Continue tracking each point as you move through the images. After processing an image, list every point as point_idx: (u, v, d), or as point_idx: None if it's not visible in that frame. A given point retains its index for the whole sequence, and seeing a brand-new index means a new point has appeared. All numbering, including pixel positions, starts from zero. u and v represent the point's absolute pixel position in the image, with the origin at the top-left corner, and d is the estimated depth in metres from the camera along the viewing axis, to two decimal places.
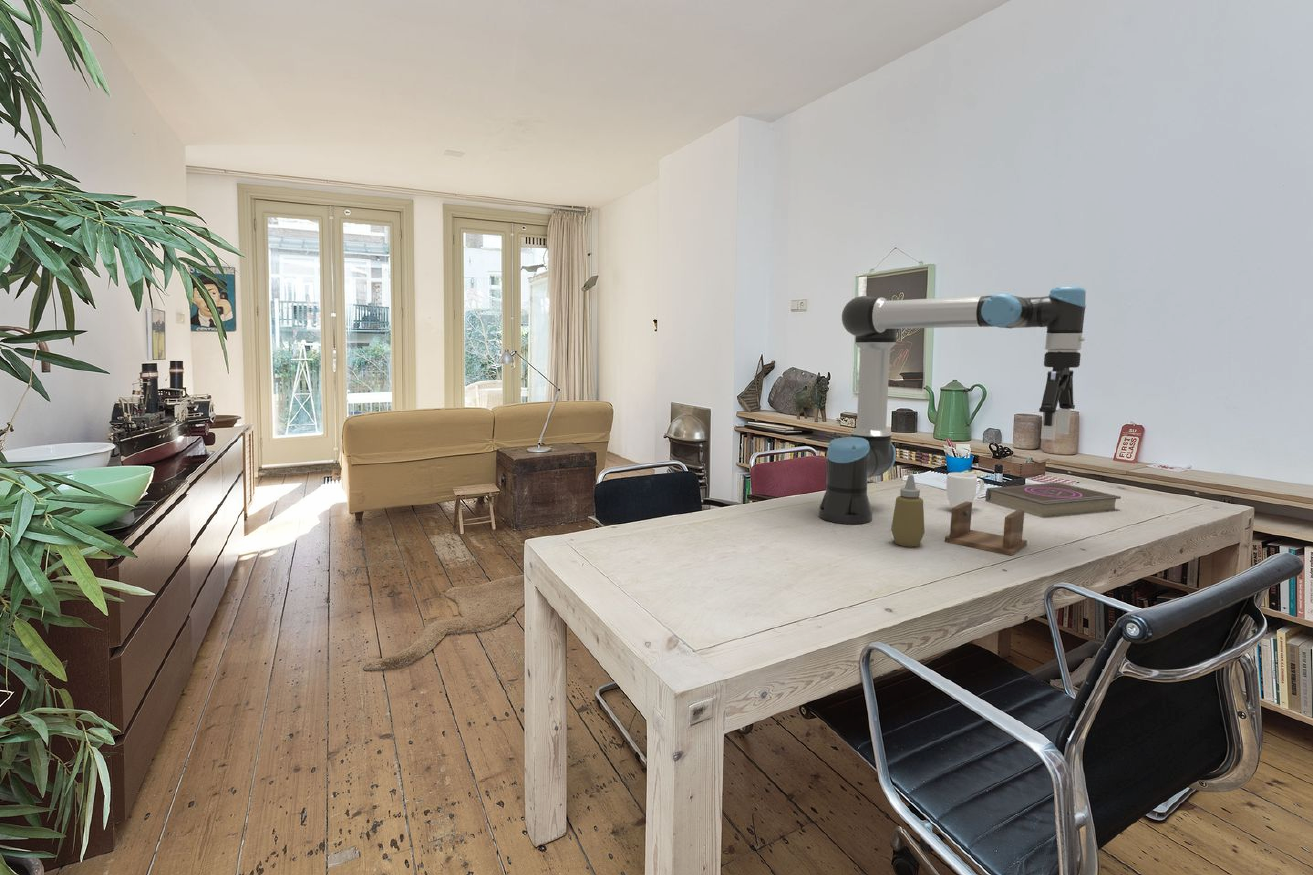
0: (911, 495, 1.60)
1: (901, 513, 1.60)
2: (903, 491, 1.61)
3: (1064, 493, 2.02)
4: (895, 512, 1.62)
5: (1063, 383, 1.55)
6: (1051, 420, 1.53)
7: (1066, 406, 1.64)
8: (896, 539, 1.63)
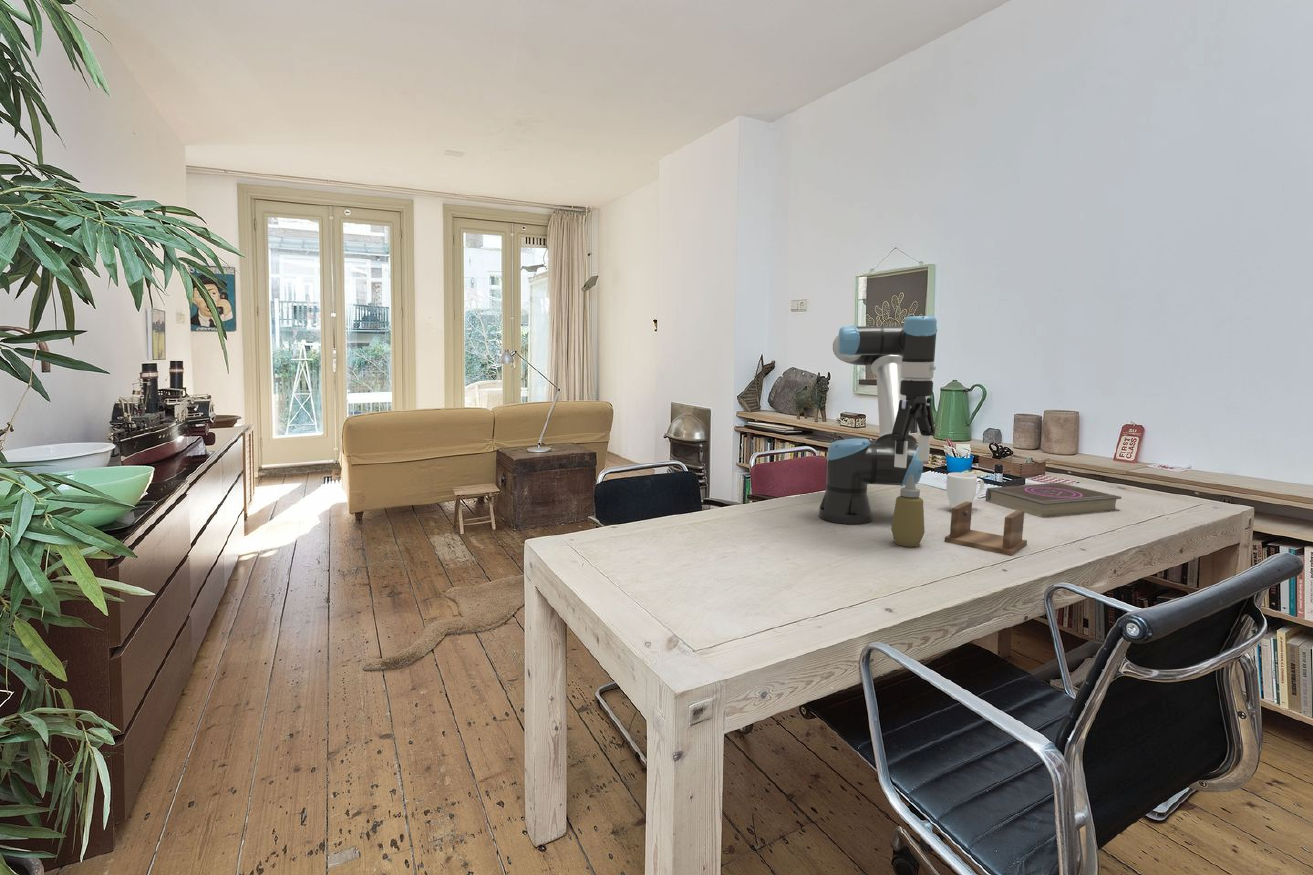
0: (911, 495, 1.60)
1: (901, 513, 1.60)
2: (903, 491, 1.61)
3: (1064, 493, 2.01)
4: (895, 512, 1.62)
5: (915, 411, 1.56)
6: (902, 448, 1.54)
7: (926, 433, 1.64)
8: (896, 539, 1.63)
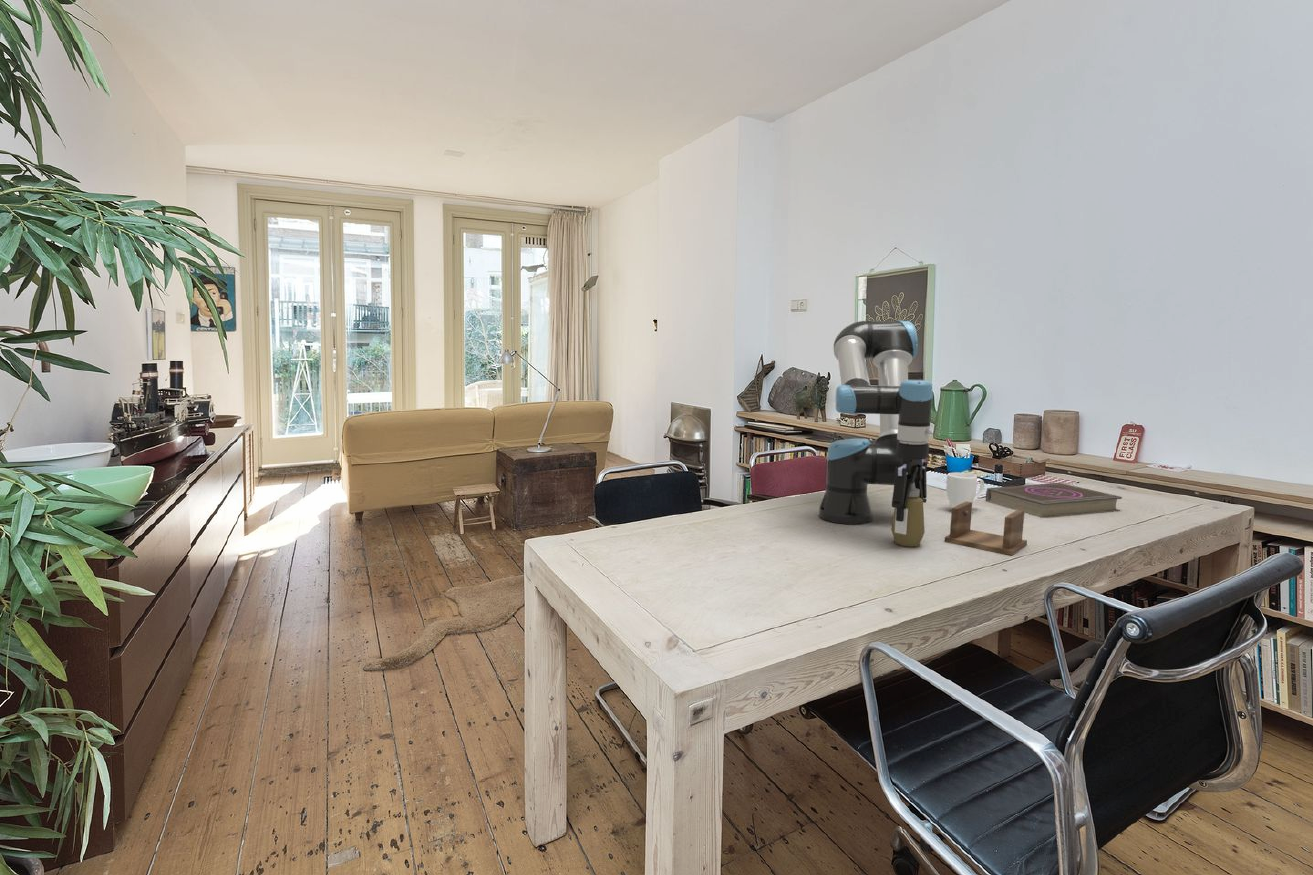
0: (911, 495, 1.60)
1: None
2: None
3: (1064, 493, 2.01)
4: (895, 512, 1.62)
5: (912, 476, 1.58)
6: (902, 516, 1.58)
7: None
8: (896, 539, 1.63)
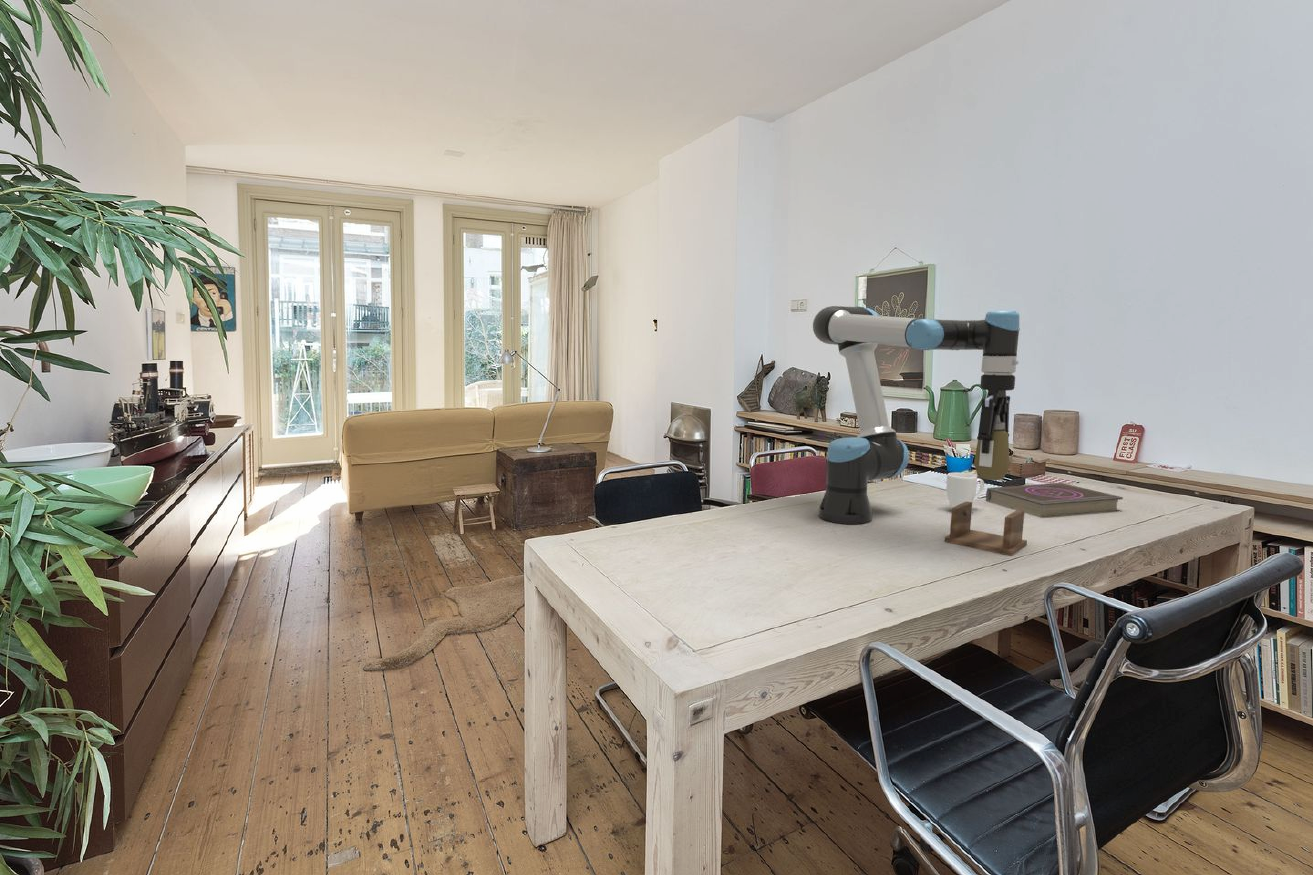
0: (996, 427, 1.58)
1: None
2: None
3: (1065, 493, 2.01)
4: (979, 446, 1.61)
5: (998, 408, 1.56)
6: (988, 448, 1.57)
7: None
8: (980, 473, 1.61)
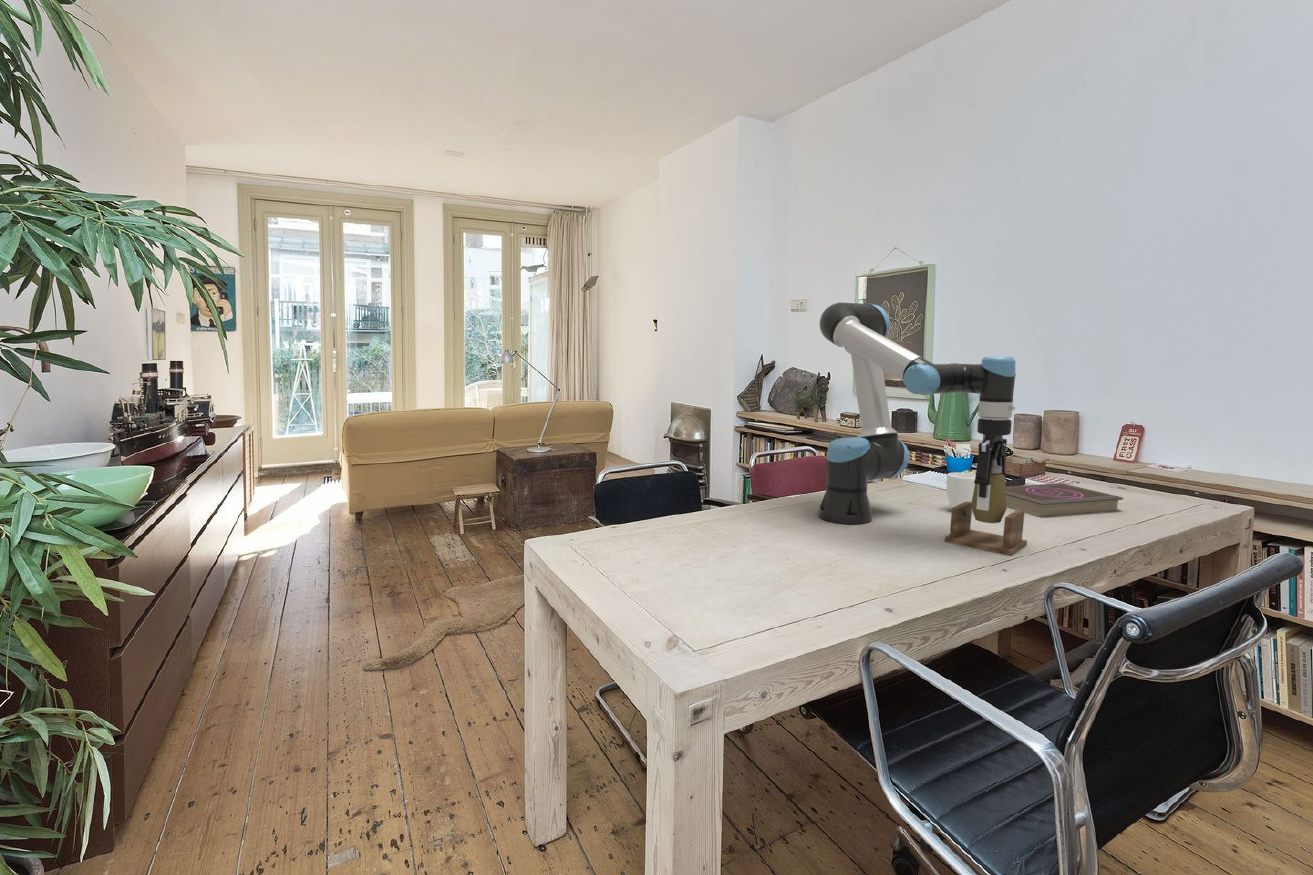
0: (993, 471, 1.59)
1: None
2: None
3: (1065, 493, 2.01)
4: (976, 489, 1.62)
5: (995, 452, 1.58)
6: (985, 492, 1.58)
7: None
8: (977, 516, 1.62)
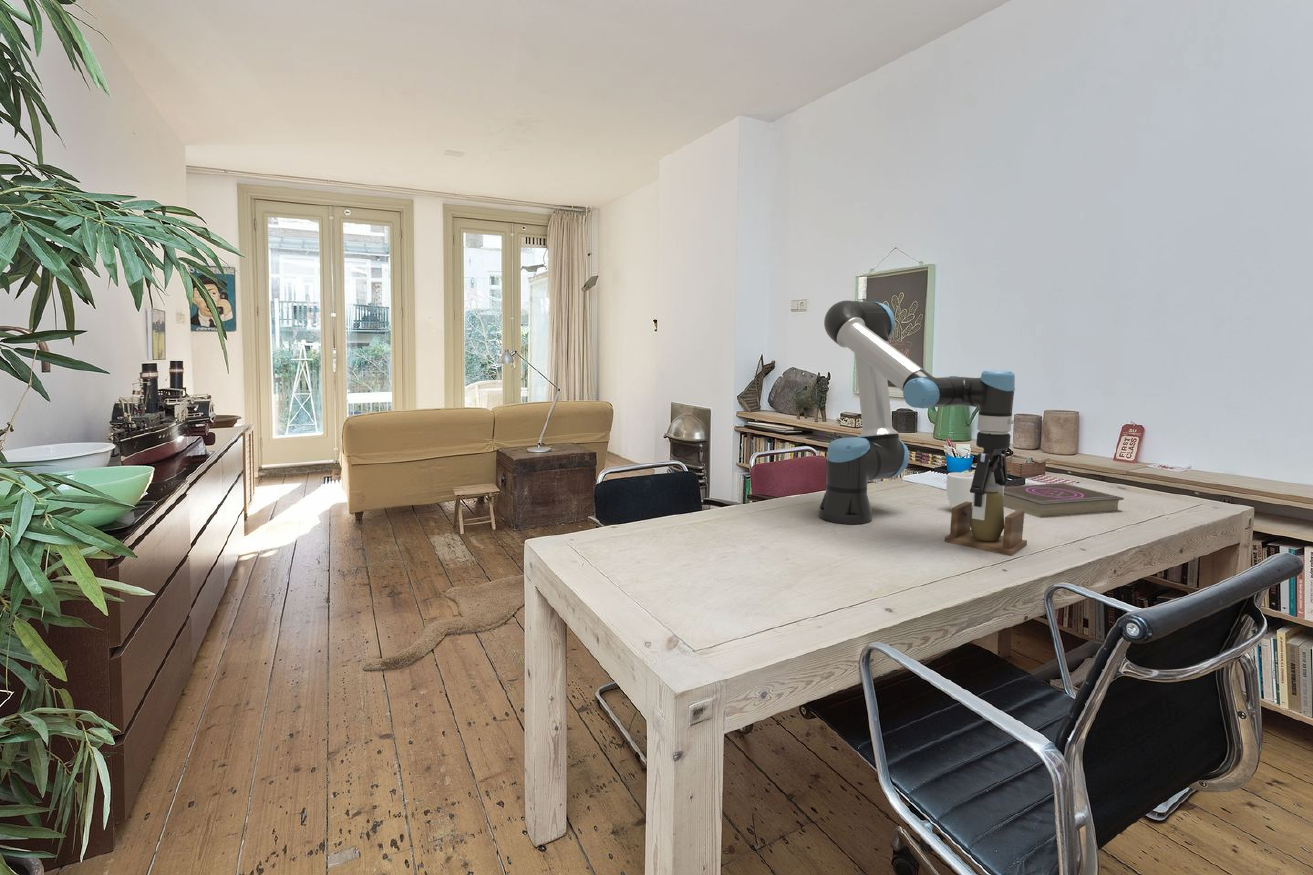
0: (991, 490, 1.60)
1: None
2: None
3: (1065, 493, 2.01)
4: None
5: (993, 464, 1.58)
6: (981, 501, 1.57)
7: (1000, 482, 1.67)
8: (975, 534, 1.63)
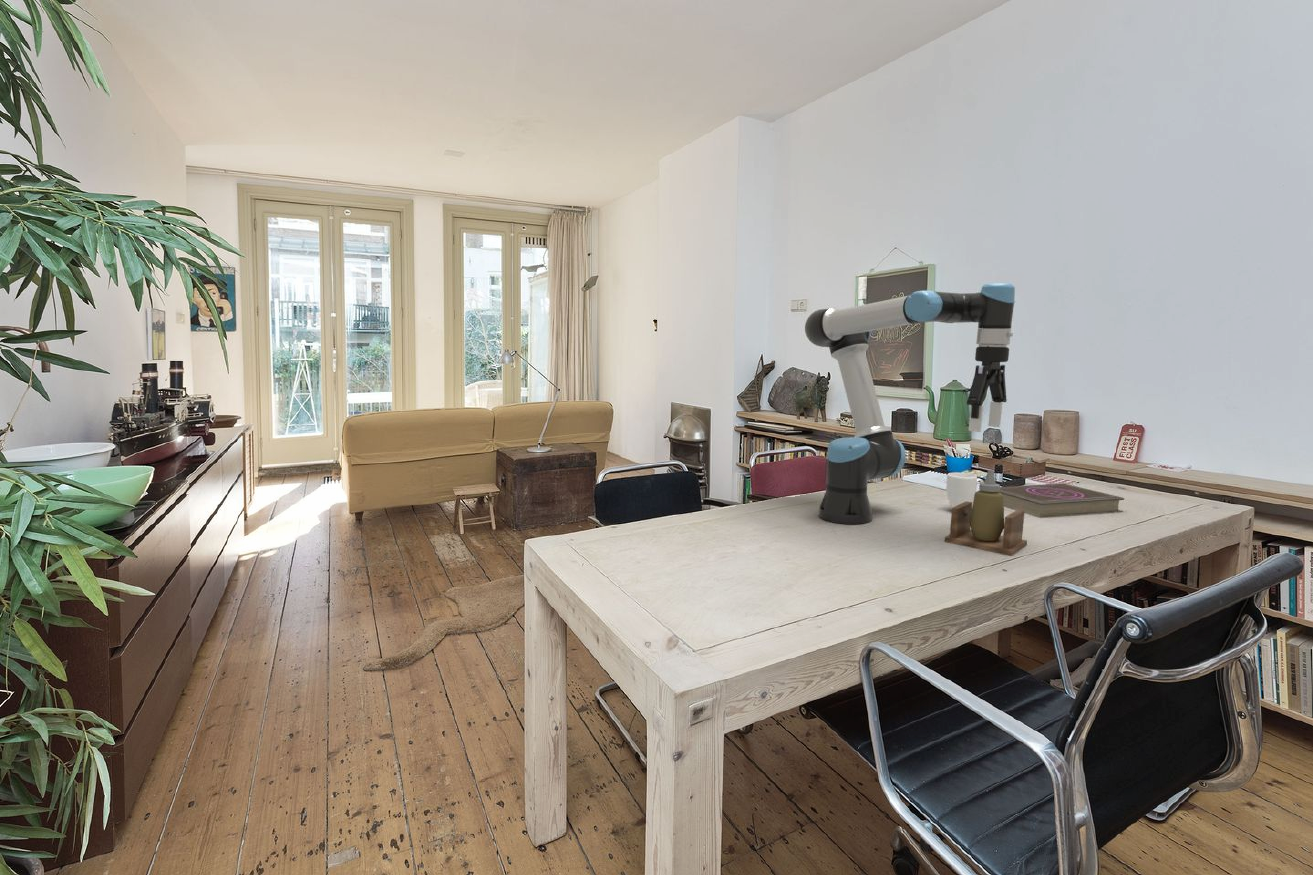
0: (992, 490, 1.60)
1: (981, 507, 1.61)
2: (983, 486, 1.61)
3: (1066, 494, 2.01)
4: (974, 507, 1.63)
5: (991, 377, 1.59)
6: (977, 413, 1.58)
7: (998, 399, 1.68)
8: (975, 534, 1.63)
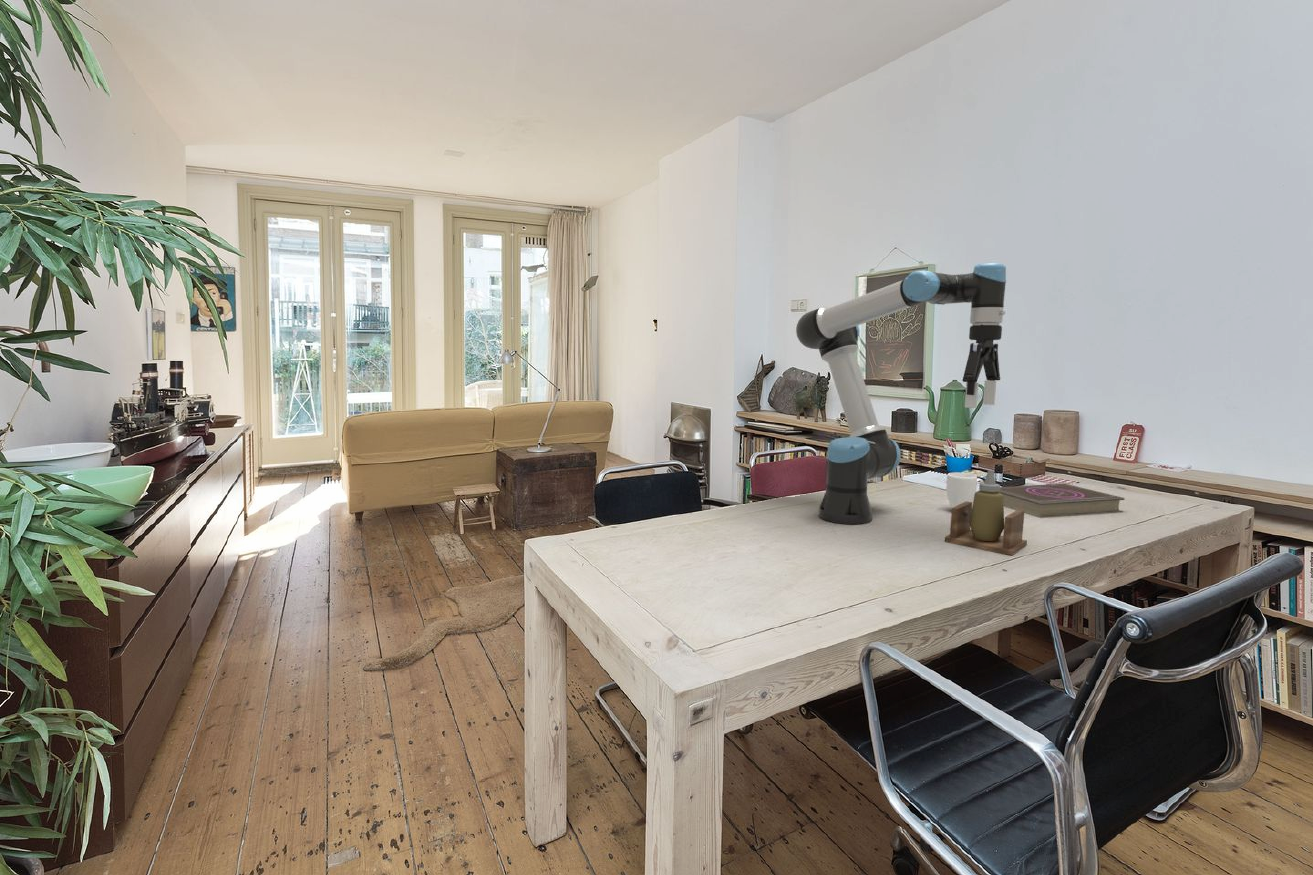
0: (992, 490, 1.60)
1: (981, 507, 1.61)
2: (983, 486, 1.61)
3: (1066, 494, 2.01)
4: (974, 507, 1.63)
5: (985, 354, 1.63)
6: (973, 389, 1.62)
7: (992, 378, 1.72)
8: (975, 534, 1.63)
